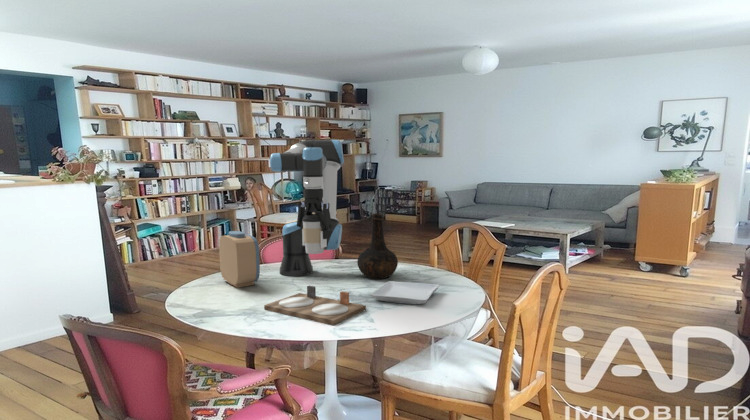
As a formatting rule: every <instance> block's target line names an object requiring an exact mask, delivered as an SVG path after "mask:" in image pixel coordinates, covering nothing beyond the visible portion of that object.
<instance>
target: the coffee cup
mask: <svg viewBox="0 0 750 420" xmlns="http://www.w3.org/2000/svg"><path fill="white" fill-rule="evenodd" d="M302 221H303V232H304V242H305V249H306V253H308V254H309V255H319V254H323V253H324V251H325V250H324V248H321V235H320V231H321V230H322V228H321V225H320V222H321V221H320V219H319V217H318V216H317V215H316V214H315V213H313V212H312V213H311V215H308V216H307V215H305V217H304V218H303V220H302Z"/></svg>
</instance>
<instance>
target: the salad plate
mask: <svg viewBox="0 0 750 420" xmlns="http://www.w3.org/2000/svg"><path fill="white" fill-rule="evenodd" d="M439 287H440V284H436V283H435V284H433V283H423V282H422V283H421V282H412V281H411V282H409V281H408V282H407V281H393V280H392V281H391V280H388V281H387V282H385V283H383V284H382V285H381V286H379V287H378V288H377V289H376V290H374V291H373V292H372V293H370V296H371V297H372V298H373V299H375V300H378V301H380V302H389V303H396V304H407V305H424V304H426V303H427V301H428V300H429V298H431V296H432V295H433V294H434V292H436V291H437V290H438V289H439Z"/></svg>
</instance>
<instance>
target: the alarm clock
mask: <svg viewBox="0 0 750 420" xmlns="http://www.w3.org/2000/svg"><path fill="white" fill-rule="evenodd" d="M218 244H219V245H218V250H219V251H218V253H219V269H220V274H221V277H222V278H223V280H225V281H226V283H228V284H229V285H231V286H233V287H235V288H242V287H247V286H253V285H255V282H258V280H259V279H260V275H261V274H260V273H261V270H260V269H261V268H260V267H261V265H260V264H261V263H260V247H259V242H258V240H257V238H256V237H254V236H253V235H249V234H247V233H245V232H244V231H239V230H232V231H231V230H230V231H228V234H227V235H226V234H225V235H220V237H219V243H218Z"/></svg>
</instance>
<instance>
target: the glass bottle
mask: <svg viewBox="0 0 750 420" xmlns="http://www.w3.org/2000/svg"><path fill="white" fill-rule="evenodd" d="M371 216H372V217H371V218H370V220H372V225H371V226H372V227H371V238H370V239H371V241H370V247H368V248H366V249H365V250H363V251H362V252H361V253H359V255H358V257H357V267H358V269H359V271H360V272H361V273H362V275H363V276H365V277H367V278H368V279H373V280H377V279H379V280H382V279H386V278H388V277H391V276H392V275H393V274H394V273H395V272H396V271H397V268H398V266H399V265H398V264H399V263H398V262H399V261H398V257H397V255H396V254H395V252H394V251H392V250H391V249H389V248H388V247H387V245H386V241H385V234H384V226H383V225H384V224H383V221H384V220H385V218H384V217H383V214H382V213H372V214H371Z"/></svg>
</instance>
